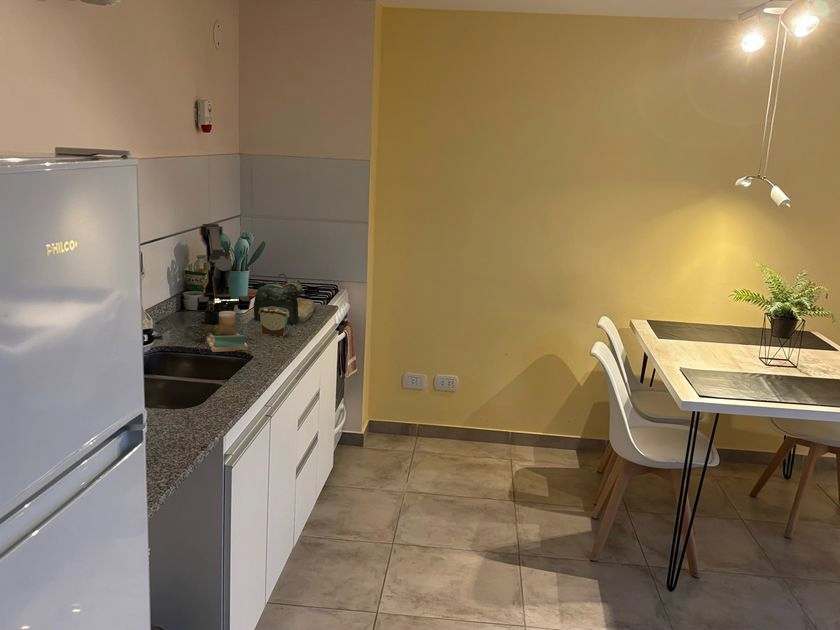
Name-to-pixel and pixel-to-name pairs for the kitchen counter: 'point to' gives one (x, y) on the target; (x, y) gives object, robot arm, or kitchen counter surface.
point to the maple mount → (227, 342)
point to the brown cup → (227, 323)
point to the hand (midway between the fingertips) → (226, 323)
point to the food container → (273, 321)
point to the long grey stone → (305, 309)
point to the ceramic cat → (279, 298)
